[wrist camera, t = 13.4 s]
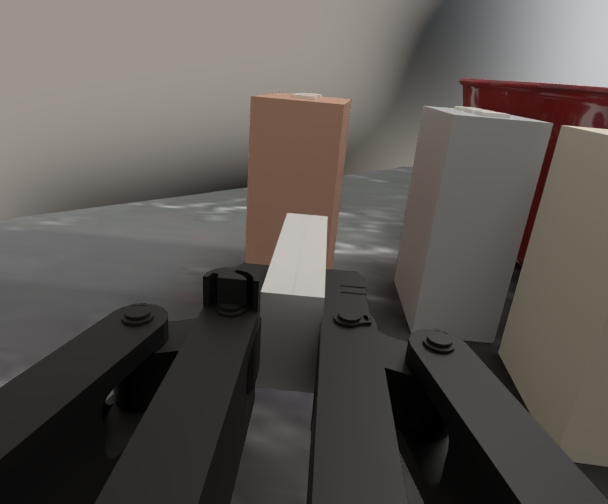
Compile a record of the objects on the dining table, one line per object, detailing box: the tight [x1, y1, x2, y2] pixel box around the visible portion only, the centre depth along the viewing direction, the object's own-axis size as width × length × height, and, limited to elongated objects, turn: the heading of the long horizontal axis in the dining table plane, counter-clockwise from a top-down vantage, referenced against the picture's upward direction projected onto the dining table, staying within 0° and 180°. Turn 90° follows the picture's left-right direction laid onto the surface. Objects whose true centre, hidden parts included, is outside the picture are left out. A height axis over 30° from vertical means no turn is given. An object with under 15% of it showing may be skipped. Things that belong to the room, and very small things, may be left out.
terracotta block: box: [245, 93, 351, 270], centre depth 30 cm, size 8×5×13 cm, turn 172°
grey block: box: [394, 106, 553, 343], centre depth 29 cm, size 8×5×13 cm, turn 177°
